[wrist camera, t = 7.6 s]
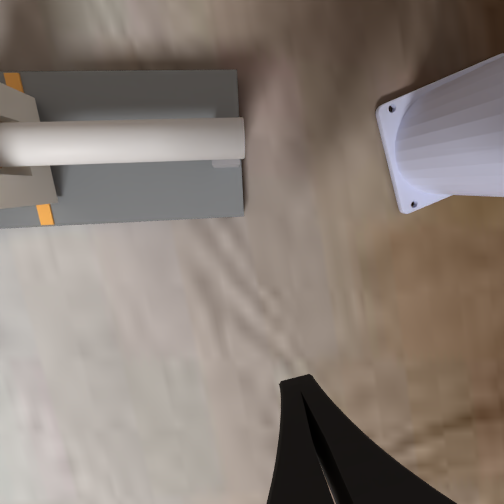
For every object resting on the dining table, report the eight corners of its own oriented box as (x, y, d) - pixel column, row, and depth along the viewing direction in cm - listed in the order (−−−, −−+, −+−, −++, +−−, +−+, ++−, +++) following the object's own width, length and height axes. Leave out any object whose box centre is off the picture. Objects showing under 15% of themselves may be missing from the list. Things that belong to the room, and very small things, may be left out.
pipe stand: (236, 76, 17) (240, 25, 12) (243, 214, 19) (248, 226, 14) (-101, 79, 15) (-277, 23, 10) (-50, 229, 18) (-172, 249, 12)
